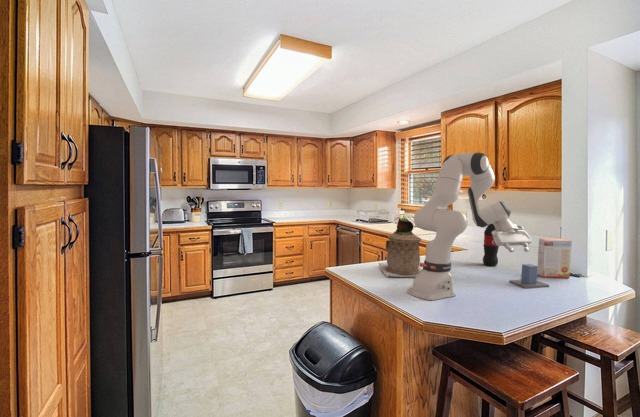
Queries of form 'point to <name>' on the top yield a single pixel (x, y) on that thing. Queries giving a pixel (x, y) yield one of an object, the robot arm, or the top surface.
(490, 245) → the cola bottle
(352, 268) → the top surface
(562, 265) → the cracker box
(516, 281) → the marker stand
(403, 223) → the cookie jar
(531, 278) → the blue rectangular block
